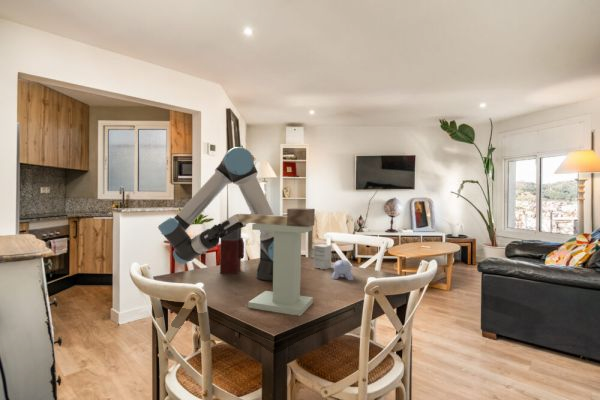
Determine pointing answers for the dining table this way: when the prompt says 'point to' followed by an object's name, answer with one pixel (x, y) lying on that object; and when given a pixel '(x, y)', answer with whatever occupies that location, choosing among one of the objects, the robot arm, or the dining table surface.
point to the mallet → (282, 218)
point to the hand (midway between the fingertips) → (246, 216)
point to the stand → (284, 272)
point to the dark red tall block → (231, 253)
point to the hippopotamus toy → (342, 269)
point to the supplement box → (322, 256)
